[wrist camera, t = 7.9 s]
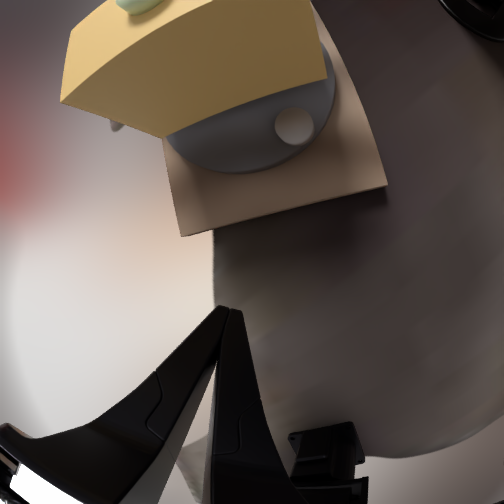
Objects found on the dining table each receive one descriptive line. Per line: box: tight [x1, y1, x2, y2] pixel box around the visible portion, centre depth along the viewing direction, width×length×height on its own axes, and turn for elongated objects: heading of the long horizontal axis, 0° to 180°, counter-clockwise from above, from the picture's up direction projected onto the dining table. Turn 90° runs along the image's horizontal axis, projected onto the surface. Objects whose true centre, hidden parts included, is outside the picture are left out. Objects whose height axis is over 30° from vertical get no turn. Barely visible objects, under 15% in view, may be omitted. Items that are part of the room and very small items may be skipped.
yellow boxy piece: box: [60, 0, 327, 139], centre depth 11 cm, size 6×13×10 cm, turn 104°
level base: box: [162, 2, 388, 237], centre depth 19 cm, size 20×16×4 cm
